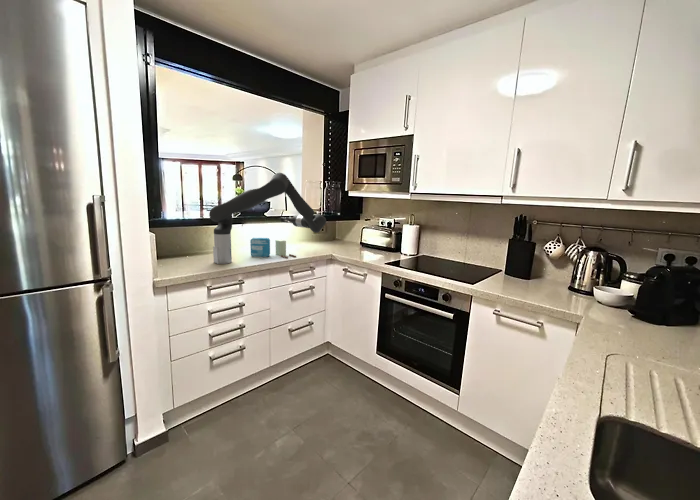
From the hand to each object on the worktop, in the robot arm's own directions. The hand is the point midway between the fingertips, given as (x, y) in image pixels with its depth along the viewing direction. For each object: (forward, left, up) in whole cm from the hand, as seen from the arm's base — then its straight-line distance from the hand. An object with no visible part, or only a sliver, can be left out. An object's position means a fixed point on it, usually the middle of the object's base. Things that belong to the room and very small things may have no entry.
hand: (286, 218), depth 203 cm
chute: (+1, -1, -25) cm, 25 cm away
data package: (-12, +12, -26) cm, 31 cm away
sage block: (+1, +8, -25) cm, 27 cm away
